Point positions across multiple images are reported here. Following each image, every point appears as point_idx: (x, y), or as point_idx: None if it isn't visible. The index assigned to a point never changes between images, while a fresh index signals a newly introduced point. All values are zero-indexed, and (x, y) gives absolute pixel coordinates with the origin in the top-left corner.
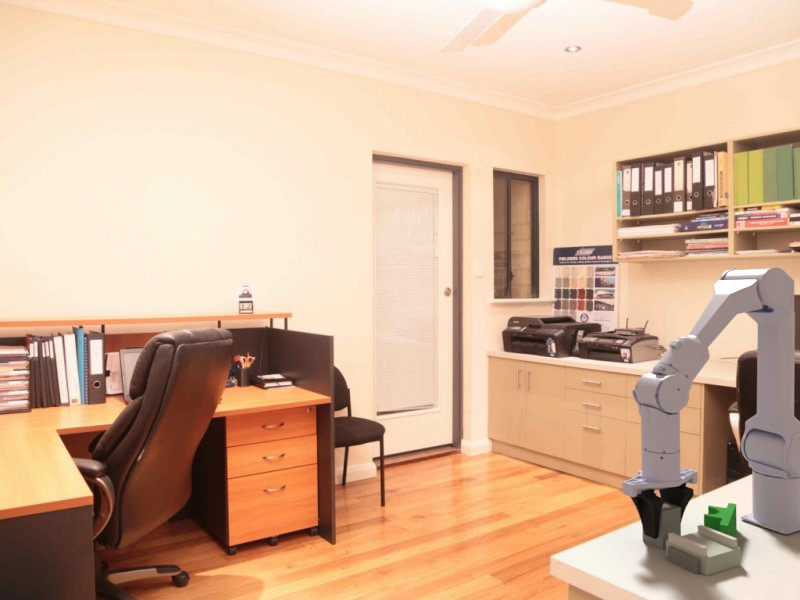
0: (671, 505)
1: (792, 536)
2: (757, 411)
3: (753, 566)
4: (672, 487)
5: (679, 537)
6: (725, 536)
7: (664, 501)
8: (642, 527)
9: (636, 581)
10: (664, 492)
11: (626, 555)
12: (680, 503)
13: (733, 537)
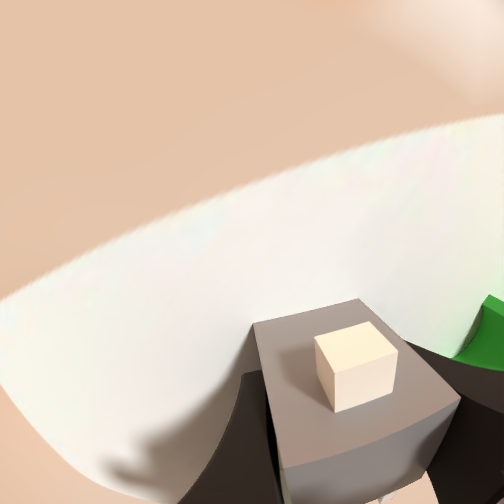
0: (415, 468)
1: None
2: None
3: None
4: (491, 500)
5: None
6: (384, 496)
7: (447, 425)
8: (260, 355)
9: (102, 469)
10: (487, 448)
11: (120, 399)
12: (433, 484)
13: (392, 496)
